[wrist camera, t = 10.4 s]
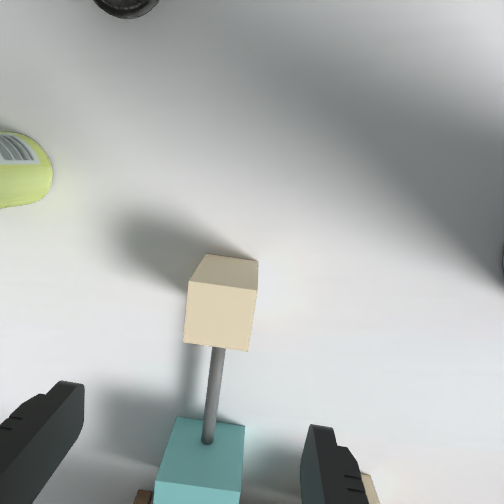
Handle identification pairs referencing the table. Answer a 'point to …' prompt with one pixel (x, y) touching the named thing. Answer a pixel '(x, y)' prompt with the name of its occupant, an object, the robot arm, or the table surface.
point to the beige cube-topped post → (370, 489)
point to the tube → (22, 170)
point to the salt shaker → (126, 7)
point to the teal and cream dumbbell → (211, 387)
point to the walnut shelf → (143, 497)
